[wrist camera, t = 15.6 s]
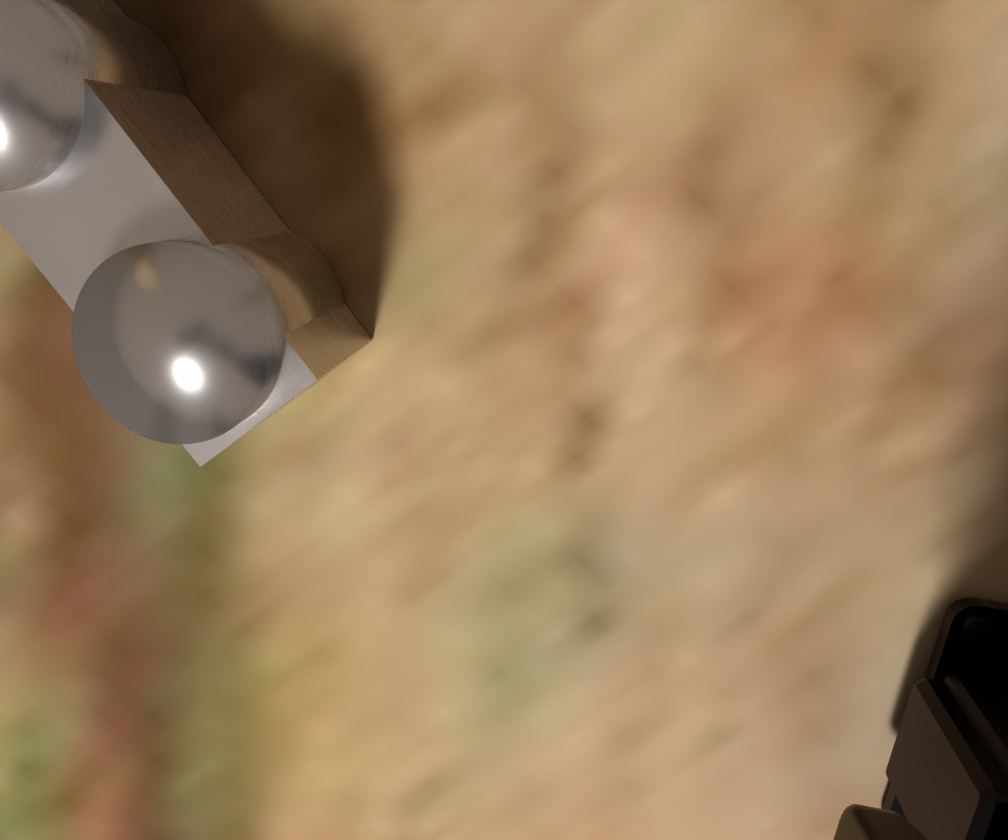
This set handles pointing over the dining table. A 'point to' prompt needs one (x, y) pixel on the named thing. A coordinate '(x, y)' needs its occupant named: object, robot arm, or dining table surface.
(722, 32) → the dining table surface
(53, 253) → the chain joint
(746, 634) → the dining table surface
